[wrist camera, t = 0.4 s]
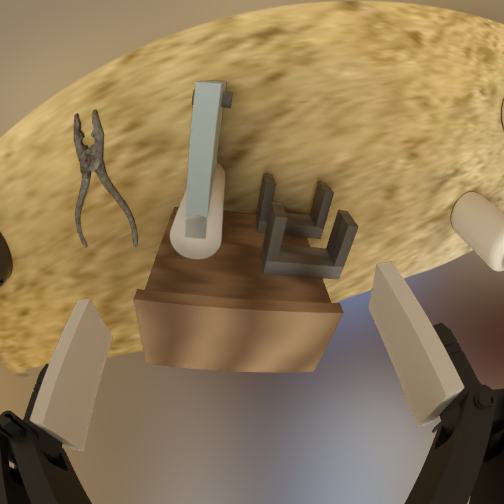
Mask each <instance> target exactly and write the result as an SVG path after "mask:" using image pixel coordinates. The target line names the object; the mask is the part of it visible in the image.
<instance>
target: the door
mask: <svg viewBox="0 0 504 504" xmlns="http://www.w3.org/2000/svg"><path fill="white" fill-rule="evenodd" d="M226 84H227V81H215V80H210V81H200V82H196V86H195V89H194V91H193V97H192V105H193V114H192V124H191V135H190V148H189V162H188V178H187V187H186V190H185V192H184V195H183V198H182V200H181V203H180V206H179V208H178V211H177V214H176V217H175V219H174V222H173V225H172V228H171V231H170V241H171V244H172V246H173V247H174V249H175V250H176V251H177V252H178V253H179V254H181V255H182V256H184V257H187V258H190V259H204V258H207V257H210V256H211V255H213V254H214V253H215V252H216V251H217V250H218V249H219V247H220V244H221V238H222V221H223V206H224V191H225V176H226V175H225V171H224V169H223V167H222V166H221V165H220V164H219V163H217V157H218V148H219V139H220V130H221V122H222V114H223V107H225V108H231V102H232V95H233V92H225V91H226Z"/></svg>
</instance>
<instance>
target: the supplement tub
mask: <svg viewBox="0 0 504 504" xmlns="http://www.w3.org/2000/svg"><path fill="white" fill-rule="evenodd" d="M502 122H503V126H504V101H503V106H502Z"/></svg>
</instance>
